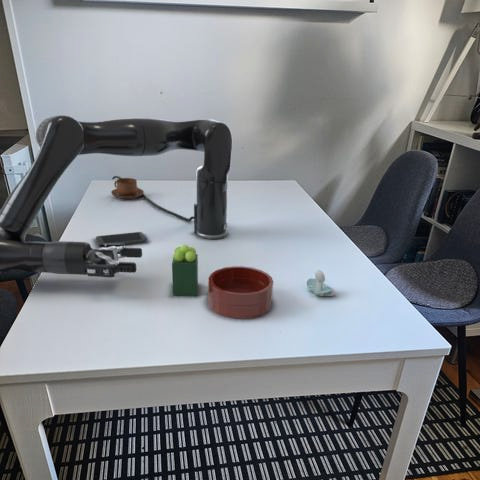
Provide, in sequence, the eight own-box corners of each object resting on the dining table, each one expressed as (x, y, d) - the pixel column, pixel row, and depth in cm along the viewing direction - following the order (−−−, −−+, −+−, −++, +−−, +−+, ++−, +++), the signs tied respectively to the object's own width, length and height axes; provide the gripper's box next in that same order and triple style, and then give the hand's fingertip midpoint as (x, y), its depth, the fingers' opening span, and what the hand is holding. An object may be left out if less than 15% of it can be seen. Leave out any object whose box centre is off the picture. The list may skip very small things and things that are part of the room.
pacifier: (321, 284, 117) (302, 288, 114) (325, 261, 114) (306, 265, 111) (340, 296, 112) (321, 301, 109) (344, 273, 108) (325, 277, 106)
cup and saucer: (106, 199, 171) (104, 183, 168) (119, 191, 181) (117, 175, 178) (137, 202, 170) (136, 185, 166) (148, 193, 180) (147, 178, 177)
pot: (196, 306, 104) (195, 283, 101) (229, 283, 115) (230, 261, 112) (252, 325, 98) (253, 301, 95) (281, 299, 109) (283, 276, 106)
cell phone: (95, 238, 137) (95, 236, 136) (141, 233, 142) (141, 231, 141) (99, 247, 131) (98, 244, 131) (147, 242, 136) (147, 239, 135)
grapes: (173, 295, 108) (171, 249, 102) (175, 285, 113) (173, 240, 107) (196, 296, 108) (196, 250, 102) (197, 285, 113) (197, 240, 107)
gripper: (55, 254, 97) (132, 257, 98) (74, 231, 109) (142, 233, 110) (61, 286, 101) (135, 288, 102) (78, 260, 113) (144, 262, 114)
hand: (139, 259), depth 106 cm, fingers open, 8 cm apart
